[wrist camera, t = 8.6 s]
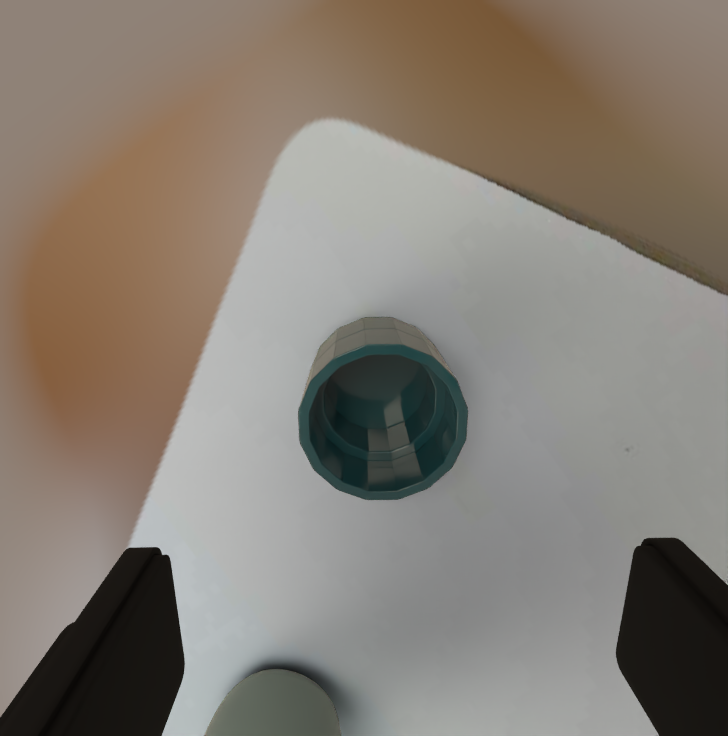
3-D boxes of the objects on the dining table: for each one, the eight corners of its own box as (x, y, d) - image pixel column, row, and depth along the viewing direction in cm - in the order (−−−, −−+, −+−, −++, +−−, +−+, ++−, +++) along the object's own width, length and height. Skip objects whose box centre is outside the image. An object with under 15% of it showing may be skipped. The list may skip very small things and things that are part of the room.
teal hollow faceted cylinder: (376, 286, 22) (383, 307, 16) (468, 378, 23) (502, 424, 18) (284, 380, 23) (263, 427, 18) (376, 462, 24) (382, 528, 19)
